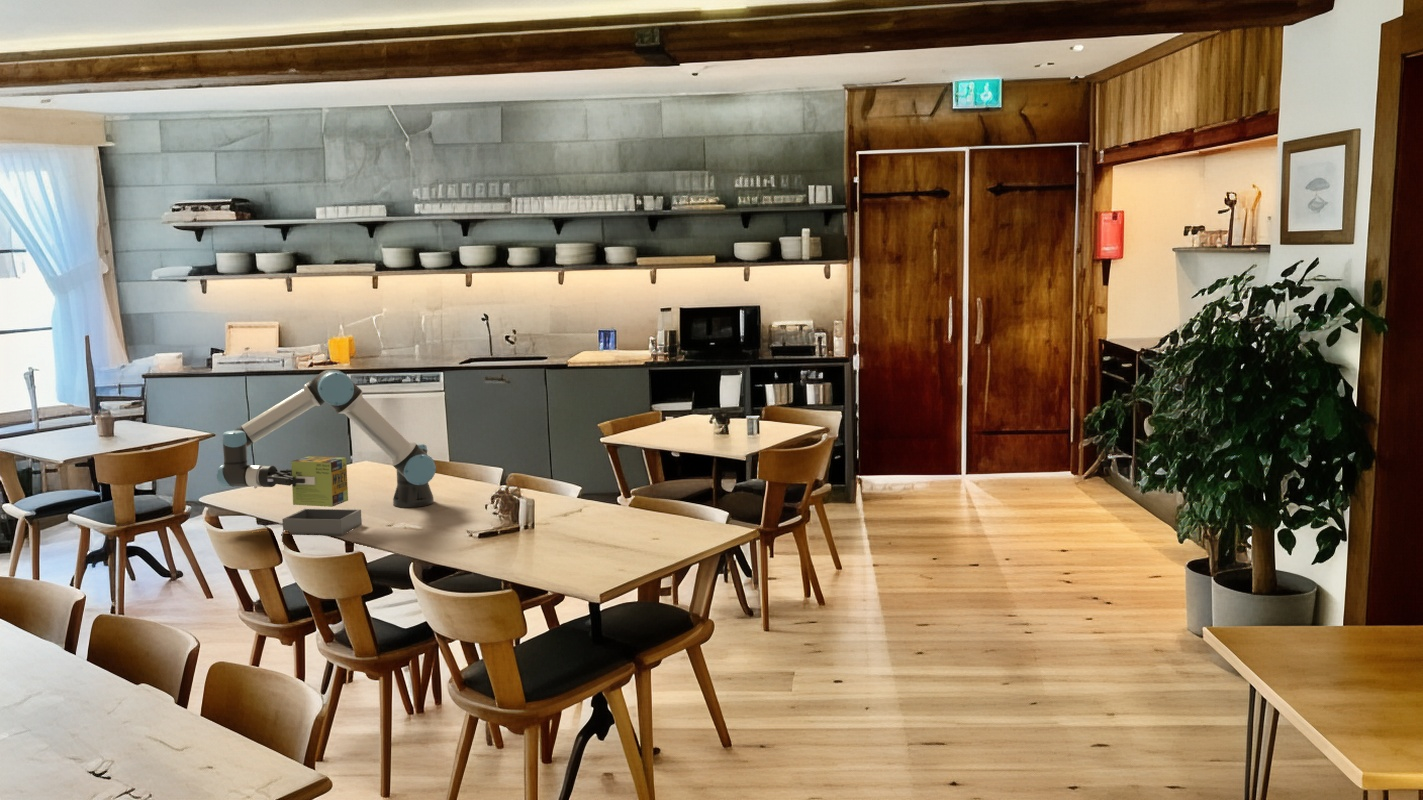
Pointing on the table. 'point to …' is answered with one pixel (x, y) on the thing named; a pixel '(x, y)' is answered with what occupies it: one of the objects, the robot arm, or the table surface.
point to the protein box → (321, 481)
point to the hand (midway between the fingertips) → (322, 477)
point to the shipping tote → (322, 522)
